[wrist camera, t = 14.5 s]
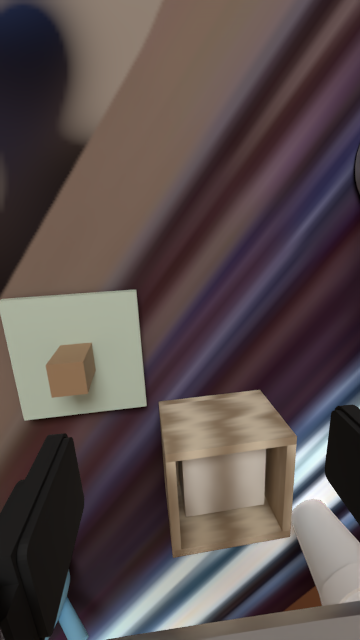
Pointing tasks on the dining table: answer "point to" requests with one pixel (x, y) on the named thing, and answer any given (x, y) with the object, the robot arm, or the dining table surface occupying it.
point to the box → (226, 471)
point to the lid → (75, 352)
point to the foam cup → (328, 552)
